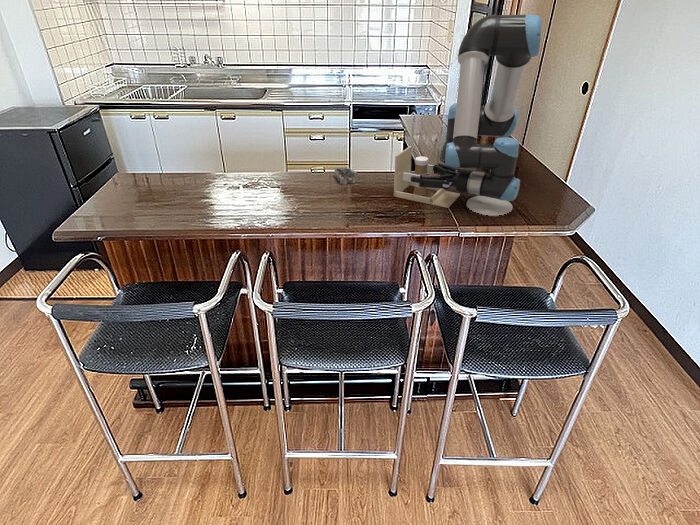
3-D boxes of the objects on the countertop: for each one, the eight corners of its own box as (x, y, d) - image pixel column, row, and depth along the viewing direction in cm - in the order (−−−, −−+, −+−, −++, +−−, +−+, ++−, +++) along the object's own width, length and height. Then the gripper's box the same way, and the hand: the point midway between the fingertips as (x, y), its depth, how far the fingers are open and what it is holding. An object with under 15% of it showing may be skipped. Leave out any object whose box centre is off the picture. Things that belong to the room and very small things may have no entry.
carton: (460, 194, 158) (465, 154, 149) (448, 208, 149) (452, 165, 140) (408, 184, 167) (410, 145, 159) (393, 196, 158) (395, 155, 150)
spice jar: (412, 191, 161) (414, 156, 154) (424, 191, 161) (427, 155, 154) (413, 196, 157) (416, 160, 150) (426, 196, 157) (429, 160, 150)
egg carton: (358, 183, 169) (358, 173, 167) (339, 185, 168) (339, 175, 166) (351, 173, 178) (351, 164, 176) (333, 175, 177) (333, 166, 174)
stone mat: (487, 193, 158) (487, 192, 157) (521, 208, 147) (522, 206, 147) (457, 204, 151) (457, 202, 150) (491, 220, 140) (491, 218, 140)
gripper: (457, 205, 140) (395, 192, 150) (479, 181, 157) (422, 170, 167) (460, 183, 136) (396, 171, 146) (482, 160, 153) (423, 151, 163)
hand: (410, 171), depth 156 cm, fingers open, 10 cm apart
